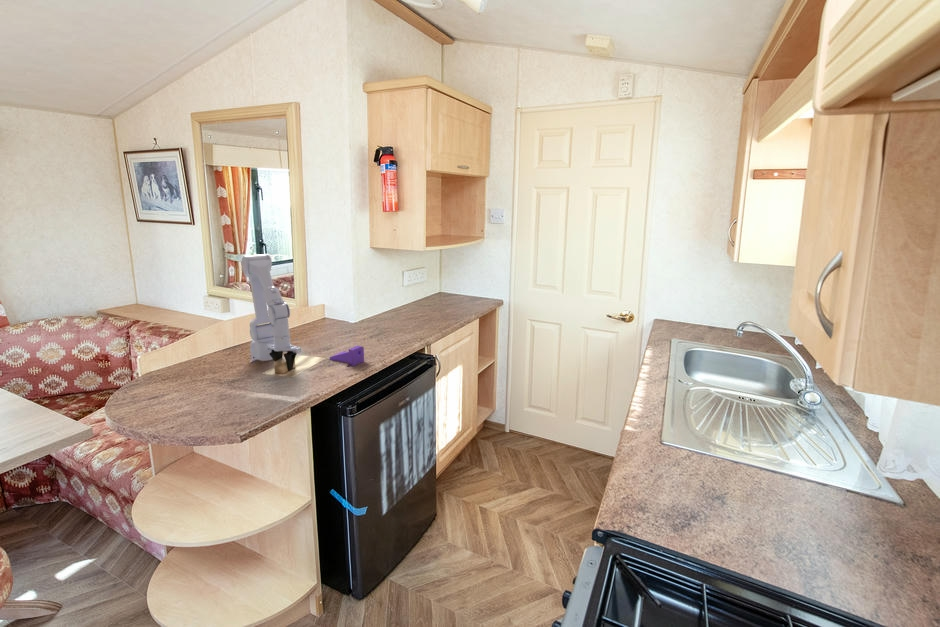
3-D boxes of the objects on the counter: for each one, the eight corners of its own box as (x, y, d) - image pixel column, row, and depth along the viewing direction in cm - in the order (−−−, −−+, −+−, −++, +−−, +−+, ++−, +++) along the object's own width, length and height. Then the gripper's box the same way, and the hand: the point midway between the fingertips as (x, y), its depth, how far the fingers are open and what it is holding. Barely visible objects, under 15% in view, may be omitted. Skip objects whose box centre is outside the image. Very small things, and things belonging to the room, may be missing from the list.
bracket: (364, 361, 198) (363, 345, 196) (353, 366, 192) (352, 350, 190) (341, 355, 203) (340, 340, 201) (329, 360, 197) (329, 344, 195)
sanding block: (275, 373, 182) (273, 362, 181) (286, 367, 188) (285, 356, 187) (284, 374, 181) (282, 363, 180) (295, 368, 187) (294, 357, 186)
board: (261, 376, 182) (261, 373, 182) (297, 357, 202) (297, 355, 202) (293, 380, 178) (293, 377, 178) (326, 360, 199) (326, 357, 198)
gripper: (258, 336, 179) (262, 371, 183) (291, 339, 175) (295, 374, 179) (270, 331, 186) (274, 364, 189) (303, 334, 182) (306, 368, 185)
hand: (285, 369), depth 184 cm, fingers closed on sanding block, 4 cm apart
